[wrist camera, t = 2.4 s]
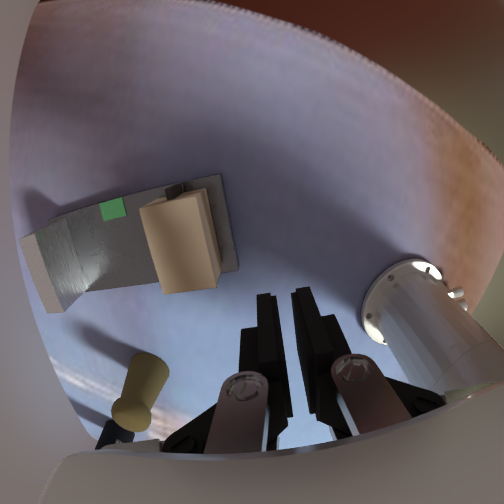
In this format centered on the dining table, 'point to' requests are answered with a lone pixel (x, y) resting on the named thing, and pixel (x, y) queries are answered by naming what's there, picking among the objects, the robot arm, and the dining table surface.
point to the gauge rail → (111, 245)
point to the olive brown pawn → (140, 392)
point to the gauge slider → (182, 240)
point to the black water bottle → (114, 435)
